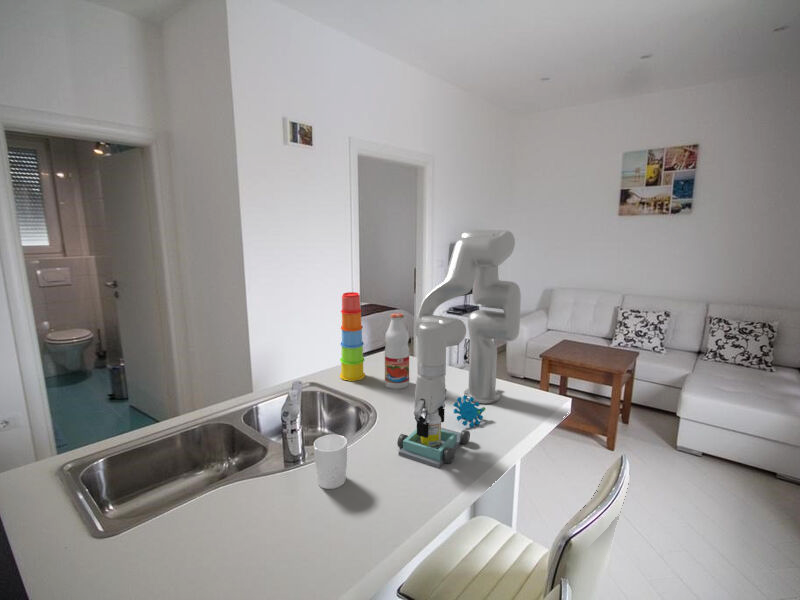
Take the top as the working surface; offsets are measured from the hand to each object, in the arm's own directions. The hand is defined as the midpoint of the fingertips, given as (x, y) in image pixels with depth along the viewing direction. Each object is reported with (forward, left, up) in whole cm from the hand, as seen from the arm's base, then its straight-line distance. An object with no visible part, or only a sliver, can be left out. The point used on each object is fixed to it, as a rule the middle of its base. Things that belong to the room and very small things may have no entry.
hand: (430, 428), depth 112 cm
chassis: (-2, 0, -6) cm, 6 cm away
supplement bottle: (0, 0, -5) cm, 5 cm away
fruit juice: (-35, -32, -6) cm, 48 cm away
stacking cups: (-33, -52, -6) cm, 62 cm away
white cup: (+25, -14, -6) cm, 30 cm away
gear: (-20, +3, -6) cm, 22 cm away
